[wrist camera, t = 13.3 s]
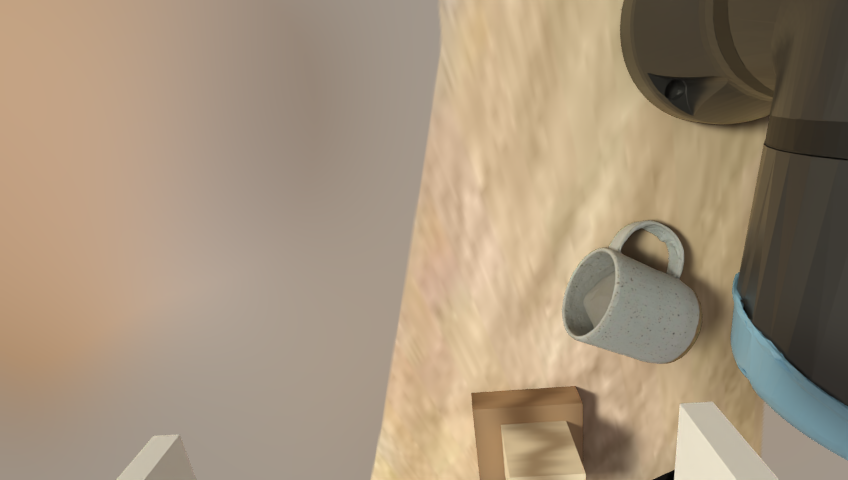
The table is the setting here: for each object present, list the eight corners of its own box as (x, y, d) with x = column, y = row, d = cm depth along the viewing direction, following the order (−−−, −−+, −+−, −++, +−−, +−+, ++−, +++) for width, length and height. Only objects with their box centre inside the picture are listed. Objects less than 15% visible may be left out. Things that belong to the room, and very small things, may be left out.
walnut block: (573, 382, 42) (582, 403, 40) (574, 462, 46) (583, 487, 43) (471, 389, 43) (472, 409, 40) (479, 467, 46) (481, 491, 44)
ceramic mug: (634, 338, 40) (677, 392, 33) (552, 309, 39) (577, 357, 32) (696, 235, 37) (759, 269, 29) (607, 202, 36) (649, 228, 29)
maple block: (565, 420, 40) (585, 473, 35) (567, 471, 42) (586, 529, 36) (500, 424, 41) (509, 477, 35) (505, 475, 43) (514, 532, 37)
